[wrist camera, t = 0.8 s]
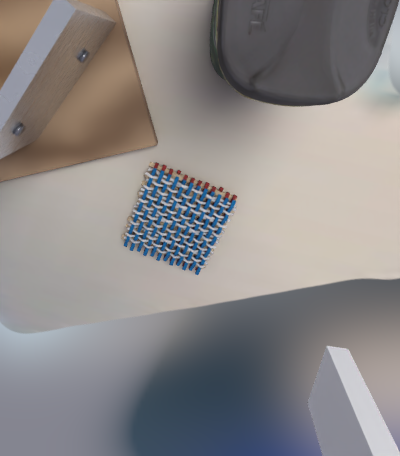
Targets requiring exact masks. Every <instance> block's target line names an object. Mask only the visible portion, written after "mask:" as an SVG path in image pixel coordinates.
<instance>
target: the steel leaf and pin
mask: <svg viewBox="0 0 400 456" xmlns="http://www.w3.org/2000/svg"><path fill="white" fill-rule="evenodd" d="M115 24H116V22H115V21H114V20H113V19H112V18H111V17H110V16H109V15H108V14H107V13H106V12H105V11H102V10H100V9H97V8H95V7H92V6H90V5H87V4H85V3H83V2H80V1H78V0H53V1H52V3H51V5H50V6H49V8H48V10H47V12H46V13H45V15H44V17H43V18H42V20H41V22H40V23H39V25H38V27H37V29H36V30H35V32H34V34H33V35H32V37H31V39H30V40H29V42H28V44H27V46H26V47H25V49H24V51H23V52H22V54H21V56H20V57H19V59H18V61H17V63H16V64H15V66H14V68H13V69H12V71H11V73H10V74H9V76H8V78H7V80H6V81H5V83H4V85H3V86H2V88H1V90H0V159H2V158H4V157H6V156H8V155H10V154H11V153H13V152H15V151H16V150H18V149H20V148H22V147H24V146H26V145H28V144H30V143H32V142H34V141H35V140H37V139H38V138H39V137H40V135H41V134H42V132H43V131H44V129H45V128H46V126H47V125H48V123H49V122H50V120H51V119H52V117H53V116H54V114H55V113H56V111H57V110H58V109H59V107H60V106H61V104H62V103H63V101H64V100H65V98H66V97H67V95H68V94H69V92H70V91H71V89H72V88H73V86H74V85H75V83H76V82H77V80H78V79H79V77H80V76H81V75H82V73H83V72H84V70H85V69H86V67H87V66H88V64H89V63H90V61H91V60H92V58H93V57H94V55H95V54H96V52H97V51H98V49H99V48H100V46H101V45H102V43H103V42H104V40H105V39H106V38H107V36H108V35H109V33H110V32H111V30H112V29H113V27H114V26H115Z"/></svg>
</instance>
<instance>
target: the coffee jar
mask: <svg viewBox="0 0 400 456" xmlns="http://www.w3.org/2000/svg"><path fill="white" fill-rule="evenodd" d="M398 2H399V0H214V4H213V11H212V20H211V32H210V55H211V61H212V64H213V67H214V69H215V70H216V72H217V73H218V74H219V75H220V76H221V77H222V78H223V79H225V80H226V81H227V82H228V83H229V85H230V86H231V87H232V88H233V89H234V90H235V91H236V92H238V93H239V94H241V95H242V96H244V97H247V98H249V99H252V100H255V101H259V102H263V103H268V104H274V105H282V106H293V107H294V106H312V105H325V104H330V103H334V102H338V101H340V100H343V99H345V98H347V97H349V96H350V95H352V94H353V93H355V92H356V91H357V90H358V89H359V88H360V87H361V86H362V85H363V84H364V83H365V82H366V81H367V80H368V78H369V77H370V75H371V74H372V72H373V70H374V69H375V67H376V65H377V63H378V60H379V58H380V56H381V54H382V50H383V47H384V44H385V41H386V39H387V36H388V33H389V30H390V27H391V24H392V21H393V19H394V15H395V12H396V9H397V6H398Z"/></svg>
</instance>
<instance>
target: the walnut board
mask: <svg viewBox="0 0 400 456" xmlns="http://www.w3.org/2000/svg"><path fill="white" fill-rule="evenodd" d="M52 1H53V0H0V90H1V88H2V86H3V85H4V83H5V81H6V80H7V78H8V76H9V74H10V73H11V71H12V69H13V68H14V66H15V64H16V63H17V61H18V59H19V57H20V56H21V54H22V52H23V51H24V49H25V47H26V46H27V44H28V42H29V40H30V39H31V37H32V35H33V34H34V32H35V30H36V29H37V27H38V25H39V23H40V22H41V20H42V18H43V17H44V15H45V13H46V12H47V10H48V8H49V6H50V5H51V3H52ZM78 1H80V2H83V3H85V4H87V5H90V6H92V7H95V8H97V9H100V10H102V11H105V12H106V13H107V14H108V15H109V16H110V17H111V18H112V19H113V20H114V21H115V22H116V24H115V26H114V27H113V29H112V30H111V32H110V33H109V35H108V36H107V38H106V39H105V40H104V42H103V43H102V45H101V46H100V48H99V49H98V51H97V52H96V54H95V55H94V57H93V58H92V60H91V61H90V63H89V64H88V66H87V67H86V69H85V70H84V72H83V73H82V75H81V76H80V77H79V79H78V80H77V82H76V83H75V85H74V86H73V88H72V89H71V91H70V92H69V94H68V95H67V97H66V98H65V100H64V101H63V103H62V104H61V106H60V107H59V109H58V110H57V111H56V113H55V114H54V116H53V117H52V119H51V120H50V122H49V123H48V125H47V126H46V128H45V129H44V131H43V132H42V134H41V135H40V137H39V138H38V139H37V140H35V141H34V142H32V143H30V144H28V145H26V146H24V147H22V148H20V149H18V150H16V151H15V152H13V153H11V154H10V155H8V156H6V157H4V158H2V159H0V182H1V181H6V180H10V179H14V178H18V177H23V176H27V175H31V174H35V173H40V172H44V171H48V170H53V169H57V168H61V167H65V166H70V165H74V164H78V163H82V162H87V161H91V160H95V159H99V158H104V157H108V156H112V155H116V154H121V153H125V152H129V151H133V150H138V149H142V148H146V147H150V146H155V145H157V143H158V140H157V137H156V134H155V130H154V127H153V123H152V120H151V116H150V113H149V109H148V106H147V102H146V99H145V95H144V92H143V88H142V85H141V81H140V78H139V74H138V71H137V67H136V64H135V60H134V57H133V53H132V50H131V46H130V43H129V40H128V36H127V33H126V29H125V26H124V22H123V19H122V15H121V12H120V8H119V5H118V1H117V0H78Z"/></svg>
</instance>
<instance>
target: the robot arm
mask: <svg viewBox="0 0 400 456" xmlns="http://www.w3.org/2000/svg"><path fill="white" fill-rule="evenodd" d="M308 405H309V409H310V413H311V416H312V420H313V423H314V427H315V430H316V434H317V437H318V441H319V444H320V448H321V451H322V455H323V456H400V452H399V450H398V448H397V446H396V444H395V442H394V440H393V438H392V436H391V434H390V432H389V430H388V428H387V426H386V424H385V422H384V420H383V418H382V416H381V414H380V412H379V410H378V408H377V406H376V404H375V402H374V400H373V398H372V396H371V394H370V392H369V390H368V388H367V386H366V384H365V382H364V380H363V378H362V376H361V374H360V372H359V370H358V368H357V366H356V364H355V362H354V360H353V358H352V356H351V354H350V352H349V350H348V349H345V348H338V347H331V346H327V347H326V350H325V353H324V356H323V359H322V362H321V365H320V368H319V371H318V374H317V377H316V380H315V383H314V386H313V389H312V391H311V395H310V397H309V401H308Z"/></svg>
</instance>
